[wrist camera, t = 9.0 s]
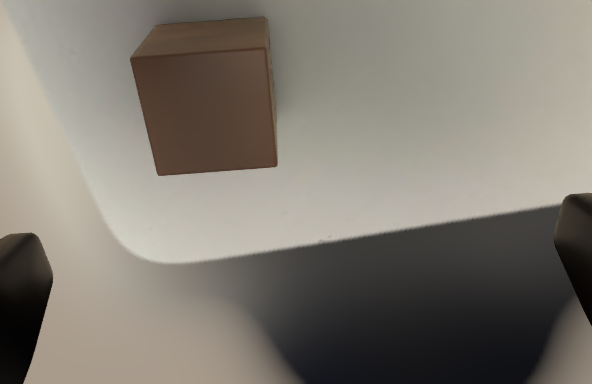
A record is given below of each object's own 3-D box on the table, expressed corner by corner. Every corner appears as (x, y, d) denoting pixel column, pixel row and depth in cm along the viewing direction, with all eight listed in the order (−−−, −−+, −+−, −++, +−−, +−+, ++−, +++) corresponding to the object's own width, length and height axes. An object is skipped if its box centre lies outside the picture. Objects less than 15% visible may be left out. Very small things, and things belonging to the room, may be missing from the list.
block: (267, 15, 18) (266, 47, 15) (276, 119, 20) (277, 167, 17) (155, 24, 18) (128, 57, 15) (176, 127, 20) (157, 176, 17)
